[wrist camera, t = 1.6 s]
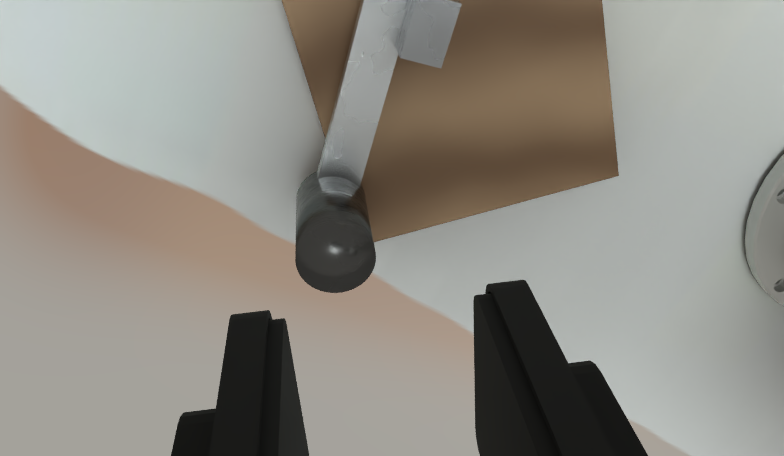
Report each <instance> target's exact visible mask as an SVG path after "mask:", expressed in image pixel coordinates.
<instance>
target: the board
mask: <svg viewBox="0 0 784 456" xmlns="http://www.w3.org/2000/svg"><path fill="white" fill-rule="evenodd" d="M458 1H459V2H460V3H461V4H462V5H461V8H460V11H459V14H458V18H457V21H456V24H455V27H454V30H453V33H452V36H451V39H450V43H449V46H448V49H447V52H446V55H445V58H444V61H443V65H442V68H437V67H433V66H429V65H426V64H422V63H418V62H414V61H410V60H406V59H402V58H400V57H399V55H398V56H397V60H396V63H395V67H394V70H393V74H392V77H391V81H390V84H389V88H388V91H387V94H386V98H385V101H384V105H383V108H382V112H381V115H380V119H379V122H378V126H377V129H376V132H375V136H374V139H373V143H372V146H371V150H370V153H369V157H368V160H367V164H366V167H365V170H364V174H363V177H362V181H361V185H362V187H363V189H364V192H365V197H366V203H367V208H368V214H369V220H370V225H371V231H372V236H373V242H376V241H380V240H384V239H387V238H391V237H395V236H399V235H402V234H406V233H410V232H413V231H417V230H421V229H424V228H428V227H432V226H435V225H439V224H443V223H446V222H450V221H454V220H457V219H461V218H465V217H468V216H472V215H476V214H479V213H483V212H487V211H491V210H494V209H498V208H502V207H505V206H509V205H513V204H516V203H520V202H524V201H527V200H531V199H535V198H538V197H542V196H546V195H549V194H553V193H557V192H560V191H564V190H568V189H571V188H575V187H579V186H583V185H586V184H590V183H594V182H597V181H601V180H605V179H608V178H612V177H616V176H619V174H618V164H617V153H616V143H615V132H614V122H613V111H612V101H611V90H610V80H609V69H608V59H607V48H606V38H605V28H604V17H603V7H602V0H458ZM282 3H283V6H284V9H285V12H286V15H287V19H288V22H289V25H290V28H291V31H292V34H293V38H294V41H295V44H296V47H297V50H298V53H299V57H300V60H301V63H302V66H303V69H304V72H305V76H306V79H307V82H308V85H309V88H310V91H311V95H312V98H313V101H314V104H315V107H316V110H317V114H318V117H319V120H320V123H321V126H322V129H323V133H324V136H325V139H326V136H327V132H328V128H329V124H330V120H331V116H332V112H333V108H334V104H335V101H336V97H337V93H338V89H339V85H340V81H341V77H342V73H343V70H344V66H345V62H346V58H347V54H348V50H349V46H350V42H351V38H352V35H353V31H354V27H355V23H356V19H357V15H358V11H359V7H360V3H361V0H282Z"/></svg>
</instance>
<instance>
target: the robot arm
mask: <svg viewBox="0 0 784 456" xmlns="http://www.w3.org/2000/svg"><path fill="white" fill-rule="evenodd" d="M745 248H746V257H747V261H748V264H749V267H750V269H751V272H752V275H753V276H754V278H755V279H756V280H757V282H758V283H759V285H760V286H761V287H762V289H763V290H765V291H766V292H767V293H768V294H769V295H770V296H771V297H772V298H773V299H774V300H775V301H776V302H777V303H779V304H781V305H782V306H784V155H783V156H782V157H781V158H780V159H779V160H778V161H777V163H776V164H775V166H774V167H773V168H772V170H771V171H770V173H769V174H768V175H767V177H766V178H765V179H764V181H763V183H762V185H761V187H760V189H759V191H758V193H757V195H756V197H755V199H754V201H753V204H752V207H751V210H750V214H749V217H748V220H747V226H746V235H745ZM474 363H475V364H474V365H475V428H476V439H477V445H478V450H479V453H480V456H648V455H647V453H646V451H645V450H644V448H643V446H642V444H641V442H640V441H639V439H638V437H637V436H636V434H635V432H634V430H633V428H632V426H631V425H630V423H629V421H628V419H627V418H626V416H625V414H624V412H623V411H622V409H621V407H620V405H619V403H618V402H617V400H616V398H615V396H614V395H613V393H612V391H611V389H610V387H609V386H608V384H607V382H606V380H605V379H604V377H603V375H602V373H601V371H600V370H599V369H598V367H597V366H596V364H595V363H593V362H591V361H584V362H576V363H568V362H567V360H566V358H565V356H564V354H563V352H562V350H561V348H560V346H559V344H558V342H557V340H556V339H555V337H554V335H553V333H552V331H551V329H550V327H549V325H548V323H547V321H546V319H545V317H544V315H543V313H542V311H541V309H540V307H539V305H538V303H537V301H536V299H535V297H534V295H533V293H532V291H531V290H530V288H529V286H528V284H527V282H526V281H525V280H518V281H509V282H501V283H493V284H488V285H487V286H486V294H483V295H475V296H474ZM171 456H309V452H308V446H307V440H306V434H305V428H304V423H303V417H302V411H301V405H300V399H299V394H298V388H297V382H296V376H295V371H294V365H293V359H292V353H291V348H290V342H289V336H288V330H287V325H286V321H285V319H275V320H272V317H271V313H270V311H269V310H267V311H258V312H250V313H242V314H233V315H231V317H230V320H229V326H228V333H227V340H226V346H225V353H224V359H223V366H222V372H221V379H220V386H219V392H218V399H217V405H216V409H209V410H201V411H193V412H185V413H183V414H182V416H181V417H180V419H179V422H178V426H177V430H176V435H175V440H174V445H173V449H172V454H171Z"/></svg>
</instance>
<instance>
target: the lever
mask: <svg viewBox="0 0 784 456" xmlns="http://www.w3.org/2000/svg"><path fill="white" fill-rule="evenodd" d="M461 5H462V4H461V3H460V2H459V1H458V0H361V3H360V7H359V11H358V15H357V19H356V23H355V27H354V31H353V35H352V38H351V42H350V46H349V50H348V54H347V58H346V62H345V66H344V70H343V73H342V77H341V81H340V85H339V89H338V93H337V97H336V101H335V104H334V108H333V112H332V116H331V120H330V124H329V128H328V132H327V136H326V139H325V143H324V147H323V151H322V155H321V159H320V163H319V167H318V171H317V172H315V173H313V174H311V175H310V176H309V177H307V178H306V179H305V180H304V181H303V183H302V184H301V186H300V187H299V190H298V193H297V199H296V267H297V270H298V272H299V274H300V276H301V277H302V278H303V279H304V281H305V282H306V283H307V284H309V285H310V286H312V287H314V288H315V289H318V290H320V291H324V292H330V293H338V292H345V291H349V290H352V289H354V288H356V287H358V286H359V285H361V284H362V283H363V282H365V280H366V279H367V278H368V277H369V276H370V274H371V273H372V271H373V269H374V266H375V261H376V254H375V248H374V242H373V236H372V231H371V225H370V220H369V214H368V208H367V203H366V197H365V192H364V189H363V187H362V185H361V181H362V177H363V174H364V170H365V167H366V164H367V160H368V157H369V153H370V150H371V146H372V143H373V139H374V136H375V132H376V129H377V126H378V122H379V119H380V115H381V112H382V108H383V105H384V101H385V98H386V94H387V91H388V88H389V84H390V81H391V77H392V74H393V70H394V67H395V63H396V60H397V56H398V55H399V57H400V58H402V59H406V60H410V61H414V62H418V63H422V64H426V65H429V66H433V67H437V68H442V65H443V61H444V58H445V55H446V52H447V49H448V46H449V43H450V39H451V36H452V33H453V30H454V27H455V24H456V21H457V18H458V14H459V11H460V8H461Z"/></svg>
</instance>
